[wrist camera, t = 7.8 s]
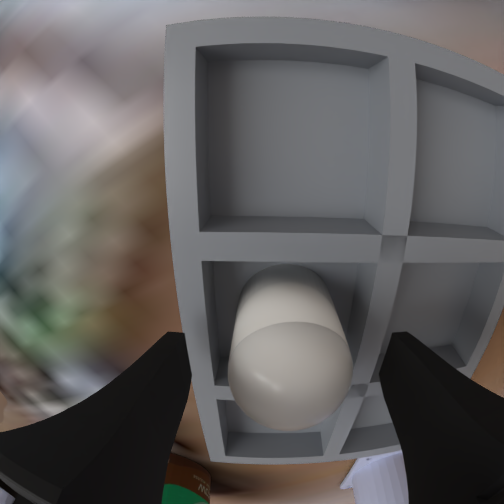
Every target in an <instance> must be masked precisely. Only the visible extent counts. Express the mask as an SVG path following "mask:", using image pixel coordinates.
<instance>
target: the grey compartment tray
mask: <svg viewBox="0 0 504 504" xmlns="http://www.w3.org/2000/svg"><path fill="white" fill-rule="evenodd" d="M164 151H165V173H166V190H167V204H168V216H169V228H170V238H171V248H172V257H173V266H174V274H175V282H176V290H177V297H178V304H179V311H180V317H181V324H182V330H183V333H185V338H186V344H187V350H188V355H189V361H190V366H191V372H192V378H191V379H192V384H193V389H194V394H195V398H196V403H197V407H198V412H199V416H200V420H201V425H202V429H203V433H204V437H205V441H206V445H207V449H208V452H209V456H210V460H211V461H214V462H225V463H241V464H304V463H319V462H330V461H340V460H348V459H355V458H362V457H368V456H374V455H379V454H385V453H390V452H394V451H399V450H401V446H400V443H399V440H398V437H397V434H396V431H395V428H394V425H393V422H392V420H391V417H390V414H389V411H388V408H387V405H386V403H385V400H384V397H383V392H382V388H381V383H380V378H379V371H380V368H381V365H382V362H383V360H384V357H385V354H386V351H387V347H388V344H389V341H390V338H391V335H392V333H393V332H404V331H407V332H408V333H410V334H411V335H413V336H414V337H416V338H417V339H418V340H419V341H421V342H422V343H423V344H425V345H426V346H427V347H428V348H430V349H431V350H432V351H433V352H435V353H436V354H437V355H439V356H440V357H441V358H442V359H444V360H445V361H446V362H447V363H449V364H450V365H451V366H453V367H454V368H455V369H457V370H458V371H460V372H461V373H462V374H464V375H465V376H467V377H468V378H471V376H472V375H473V373H474V371H475V369H476V367H477V365H478V363H479V361H480V359H481V357H482V355H483V353H484V351H485V349H486V347H487V345H488V343H489V341H490V339H491V336H492V334H493V332H494V330H495V327H496V325H497V322H498V320H499V318H500V315H501V313H502V310H503V307H504V75H503V74H501V73H499V72H498V71H496V70H494V69H492V68H490V67H487V66H485V65H483V64H481V63H479V62H477V61H475V60H472V59H470V58H468V57H465V56H463V55H460V54H458V53H456V52H453V51H450V50H448V49H445V48H442V47H439V46H437V45H434V44H431V43H428V42H425V41H422V40H418V39H415V38H412V37H408V36H404V35H401V34H397V33H393V32H389V31H385V30H380V29H376V28H371V27H366V26H361V25H355V24H349V23H342V22H335V21H327V20H318V19H308V18H293V17H233V18H218V19H207V20H198V21H190V22H183V23H177V24H171V25H166V36H165V56H164ZM279 264H294V265H299V266H302V267H305V268H308V269H310V270H312V271H313V272H315V273H316V274H317V275H318V276H319V277H321V279H322V280H323V281H324V282H325V284H326V286H327V288H328V290H329V293H330V296H331V298H332V301H333V304H334V306H335V309H336V312H337V315H338V318H339V320H340V323H341V326H342V329H343V332H344V334H345V337H346V340H347V343H348V346H349V349H350V352H351V356H352V361H353V377H352V382H351V386H350V389H349V392H348V394H347V396H346V398H345V399H344V401H343V403H342V404H341V406H340V407H339V408H338V409H337V410H336V411H335V412H334V413H333V414H332V415H331V416H330V417H329V418H327V419H326V420H324V421H323V422H321V423H319V424H317V425H315V426H313V427H310V428H307V429H303V430H297V431H280V430H274V429H270V428H267V427H265V426H263V425H260V424H258V423H257V422H255V421H253V420H252V419H251V418H249V417H248V416H247V415H246V414H245V413H244V412H243V411H242V410H241V409H240V407H239V406H238V405H237V403H236V401H235V400H234V398H233V396H232V393H231V390H230V387H229V382H228V362H229V356H230V350H231V344H232V337H233V331H234V325H235V319H236V313H237V307H238V301H239V296H240V293H241V290H242V289H243V287H244V285H245V284H246V282H247V281H248V280H249V279H250V278H251V277H252V276H253V275H255V274H256V273H257V272H259V271H261V270H263V269H265V268H267V267H270V266H274V265H279Z"/></svg>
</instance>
